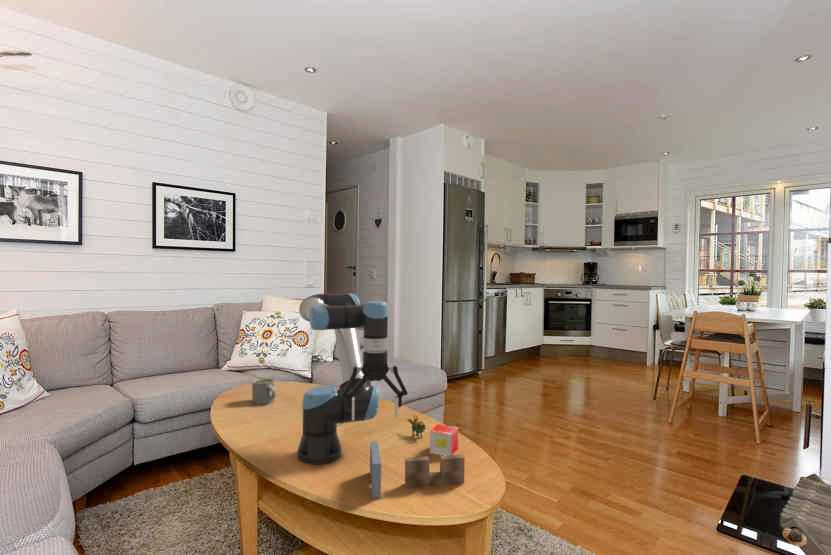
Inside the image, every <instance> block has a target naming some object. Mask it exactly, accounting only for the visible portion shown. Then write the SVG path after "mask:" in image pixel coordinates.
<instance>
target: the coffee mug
mask: <svg viewBox="0 0 831 555" xmlns="http://www.w3.org/2000/svg"><path fill="white" fill-rule="evenodd" d="M251 386H252V387H251V388H252V390H251V391H252V392H251V393H252V394H251V397H252V399H251V400H252V402H253V403H254V405H256V404H264V405H268V404H272V403H274V401H275V397H276V396H277V391H276V388H275V379H273V378H258V379H254V380H253V381H252V383H251ZM252 402H251V403H252ZM253 403H252V404H253Z"/></svg>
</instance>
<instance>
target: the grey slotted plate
mask: <svg viewBox="0 0 831 555" xmlns="http://www.w3.org/2000/svg"><path fill="white" fill-rule="evenodd" d="M369 476H370V482H371V483H370V484H371V497H372V499H381V498H382V460H381V454H380V448H379V442H378V440H376V441H375V440H374V441H371V440H370V442H369Z"/></svg>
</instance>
